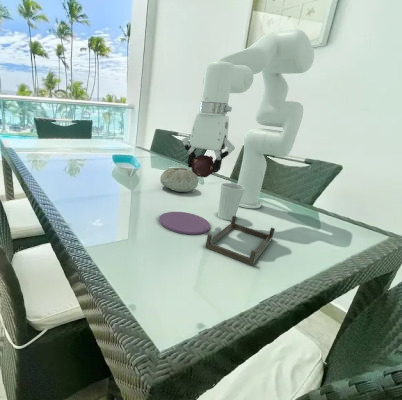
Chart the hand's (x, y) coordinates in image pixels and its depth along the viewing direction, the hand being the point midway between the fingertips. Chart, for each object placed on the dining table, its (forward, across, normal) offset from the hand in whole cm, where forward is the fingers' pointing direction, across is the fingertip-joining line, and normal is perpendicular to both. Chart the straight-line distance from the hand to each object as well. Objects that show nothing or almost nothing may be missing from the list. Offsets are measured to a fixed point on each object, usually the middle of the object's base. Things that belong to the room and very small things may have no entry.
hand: (202, 169), depth 84 cm
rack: (+20, -16, 0) cm, 25 cm away
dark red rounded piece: (+3, 0, 0) cm, 3 cm away
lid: (+20, +3, 0) cm, 20 cm away
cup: (+20, -5, -18) cm, 27 cm away
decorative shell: (+20, +25, -34) cm, 47 cm away
